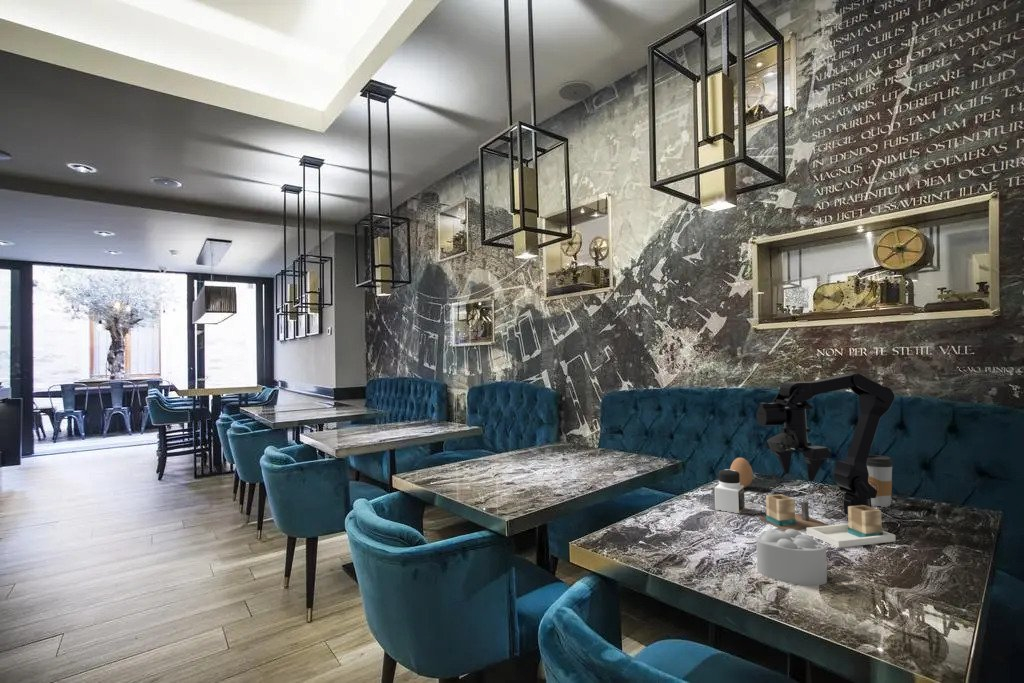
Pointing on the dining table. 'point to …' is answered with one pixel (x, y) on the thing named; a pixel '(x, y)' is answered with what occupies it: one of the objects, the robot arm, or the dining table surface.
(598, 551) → the dining table surface
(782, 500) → the oak sleeve
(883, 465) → the coffee cup
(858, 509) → the sleeve
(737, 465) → the egg
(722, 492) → the medicine bottle
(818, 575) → the lumpy-topped squat cylinder
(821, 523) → the pin board
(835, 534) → the feeder tray
